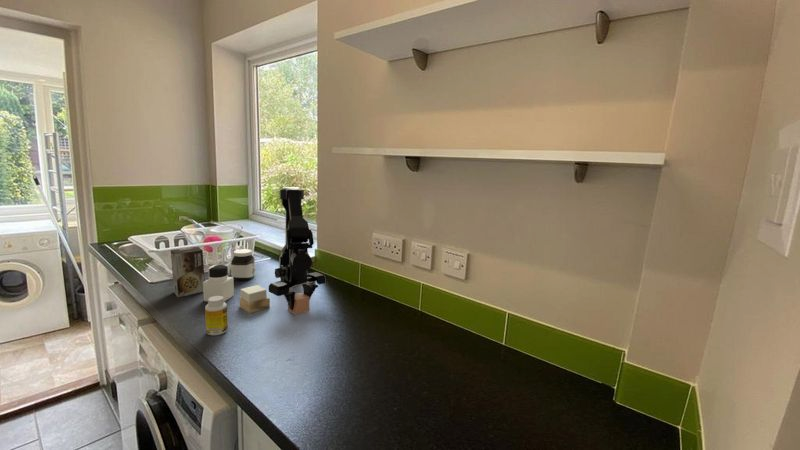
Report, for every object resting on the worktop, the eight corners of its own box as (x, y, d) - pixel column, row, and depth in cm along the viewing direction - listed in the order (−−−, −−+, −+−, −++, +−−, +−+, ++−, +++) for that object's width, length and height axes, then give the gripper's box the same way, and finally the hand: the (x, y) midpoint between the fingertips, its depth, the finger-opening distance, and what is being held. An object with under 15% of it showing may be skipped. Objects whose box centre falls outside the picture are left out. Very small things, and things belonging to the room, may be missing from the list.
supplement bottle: (226, 335, 99) (225, 301, 97) (204, 337, 97) (202, 302, 95) (228, 326, 104) (227, 293, 103) (208, 328, 102) (206, 295, 101)
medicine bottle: (234, 295, 127) (233, 263, 125) (222, 303, 120) (221, 269, 118) (216, 293, 128) (214, 262, 126) (203, 301, 121) (201, 268, 119)
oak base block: (259, 301, 124) (259, 292, 123) (269, 307, 119) (269, 298, 119) (239, 307, 118) (239, 297, 118) (250, 313, 114) (249, 303, 113)
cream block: (257, 293, 122) (257, 285, 122) (266, 298, 118) (266, 289, 118) (240, 297, 118) (240, 289, 117) (249, 302, 114) (249, 294, 113)
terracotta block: (300, 305, 121) (300, 292, 120) (309, 310, 118) (309, 296, 117) (287, 310, 117) (287, 296, 117) (296, 314, 114) (296, 300, 113)
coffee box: (200, 287, 134) (198, 246, 131) (205, 291, 129) (203, 249, 126) (172, 292, 127) (170, 249, 125) (177, 297, 123) (174, 253, 120)
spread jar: (247, 282, 141) (246, 254, 139) (219, 281, 141) (218, 253, 139) (259, 273, 153) (259, 247, 151) (233, 272, 153) (233, 246, 151)
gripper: (307, 253, 127) (307, 293, 130) (259, 262, 113) (260, 308, 115) (326, 259, 120) (326, 302, 123) (278, 270, 106) (278, 318, 109)
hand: (298, 307), depth 118 cm, fingers closed on terracotta block, 5 cm apart
